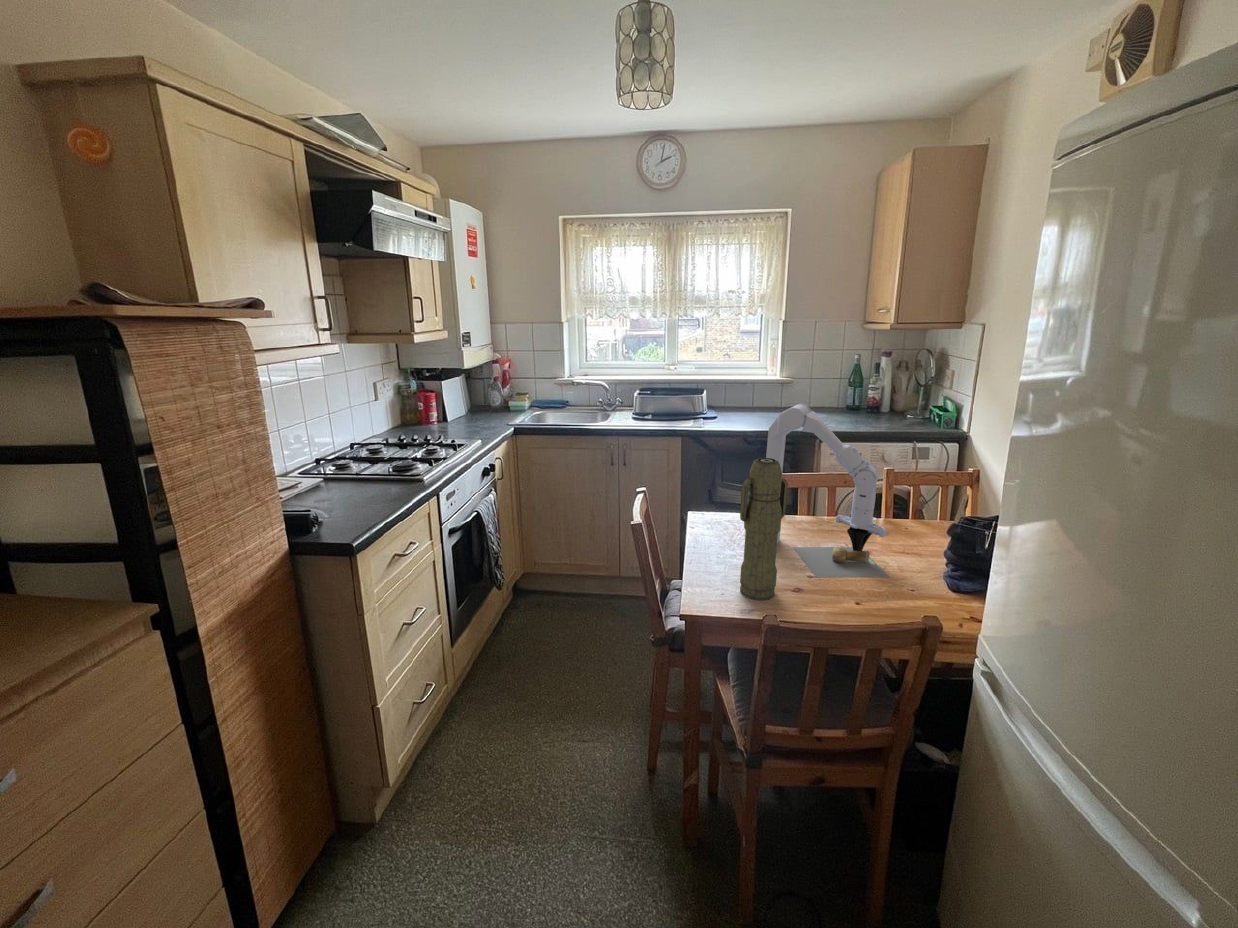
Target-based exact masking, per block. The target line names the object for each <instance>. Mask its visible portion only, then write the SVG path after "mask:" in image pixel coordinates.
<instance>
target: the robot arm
mask: <svg viewBox="0 0 1238 928" xmlns="http://www.w3.org/2000/svg"><path fill="white" fill-rule="evenodd" d="M800 428H802V429H801V432H803V433H804V432H806V433H813V434H814V435H815V436H816V437H817V438H818V439H819V440H820V441H821V442H823V443H824V444H825V445H826V447H828V448H829V449H830V450H831V451H832V452H833V453H834V456H833V458H834V461H836V462H837V464H838V465H839V466H840V467H842V469H843V470H845V471H846V472H847V473H848V474H849V476H851V477H852V482H853V483H854V490H853V495H852V504H851V512H850V516H846V515H842V514H839V515H836V516H835V518H836V519H835V523H837V524H843V525H846V526H849V528H847V530H846V532H847V534H848V536H849V538H850V540H851V545H852V546H851V547H853V551H862V550H863V549H864V547H865V545H866V543H867V541H868V540H869V538H870V537H871V536H872V534H874V535H876V536H879V538H886V537H887V534H888V529H886V528H885V527H882V526H879V525H877V524H874V523H872V520H873V517H874V510H875V503H876V495H877V494H876V491H877V482H878V480H879V479H880V472H879V469H878V468H877V466H876V465H875V464H871V461H869V460H866V459H865V458H864V457H863V456H862V455H861V454H860V453H859V452H858V451H859V449H858V447H857V446H854V447H853V446H852V445H850V444H844V443H843V442H842V441H841V440H840V438H838V437H837V436H836V434H835V433H834V432H833V431H832V430H831V429H830V427H829V426H828V425H827V424H826V423H825V422H824V421H823V420H822V419H821V417H819V415H818V414H817V412H815V411H814V410H812V409H811V408H810V407H809V405H807V404H805V403H798V404H794V405H793V406H792V407H789V408H787V409H786V410H784V411H781V412H780V413H779V415H778V416H777V417H776V419H775V420H774V422H772V424H771V425H770V426H769V428H768V431H767V432H768V433H767V445H766V454H765V455H766V457H765V458H772V459H775V460H777V461H778V462H779V463H780V467H781V471H782V472H783V471H784V470H783V469H784V459H785V448H786V438H787V437H786V436H787V435H788V434H790V433H791V432H794V431H797V430H798V429H800ZM779 497H780V495H779ZM782 519H783V518H781V520H782ZM781 528H782V524H781V525H780V531H779V532H778V537H777V544H778V543H780V542H781V531H782V530H781ZM863 551H864V550H863Z"/></svg>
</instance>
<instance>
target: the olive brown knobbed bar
mask: <svg viewBox="0 0 1238 928" xmlns="http://www.w3.org/2000/svg"><path fill="white" fill-rule="evenodd" d="M834 547H835V548H833V556H832V559H833V560H834V561H836V562H845V561H867V562H869V557H870V556H871V555H870V554H871V553H870V551H869V550H863V551H848V550H846V549H844V548H841V547H842V546H834Z"/></svg>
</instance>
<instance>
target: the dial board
mask: <svg viewBox="0 0 1238 928" xmlns="http://www.w3.org/2000/svg"><path fill="white" fill-rule="evenodd" d="M835 547H836V546H793V547H792V548H793V550H794V551H795V553H797V556H799V557H800V559H801V560H802V561H803V563H804V564H805V565H806V567H807V568H808V569H809V571H810V572H811V573H812V574H813V575H814V577H815V578H890V577H891V576H890V575H889V574H888V573H887V572H886V571H884V569H883V568H882V567H881V566H880V565H878V564H877V563H876V562H875V561H874V560H873V559H872V558H871V557H870V556H869V562H867V561H845V562H836V561H834V560H833V559H832V556H833V548H835ZM840 547H841V548H844V549H846V550H848V551H853V547H852V546H840ZM862 551H864V550H862Z"/></svg>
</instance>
